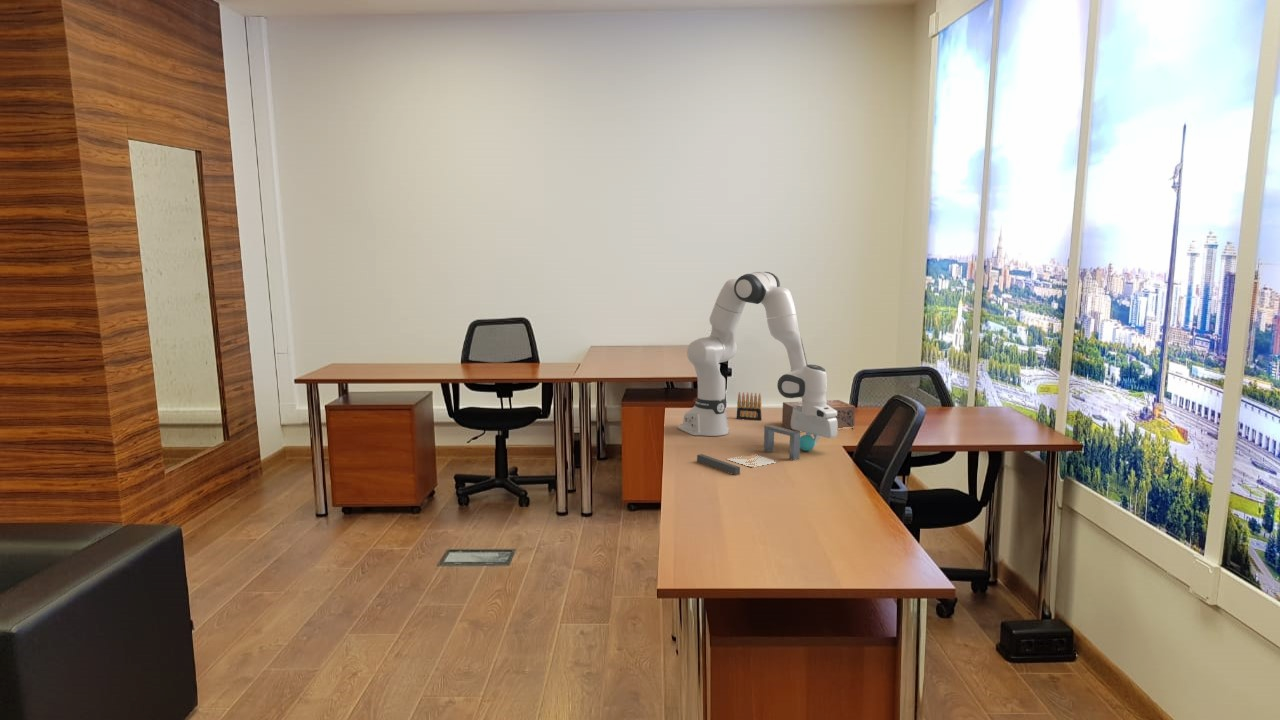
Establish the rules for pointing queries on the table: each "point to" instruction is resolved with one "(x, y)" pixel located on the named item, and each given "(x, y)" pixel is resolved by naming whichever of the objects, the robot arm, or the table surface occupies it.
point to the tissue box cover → (843, 409)
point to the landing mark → (759, 462)
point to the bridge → (793, 435)
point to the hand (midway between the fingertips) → (812, 445)
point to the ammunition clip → (747, 411)
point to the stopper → (718, 464)
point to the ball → (807, 442)
